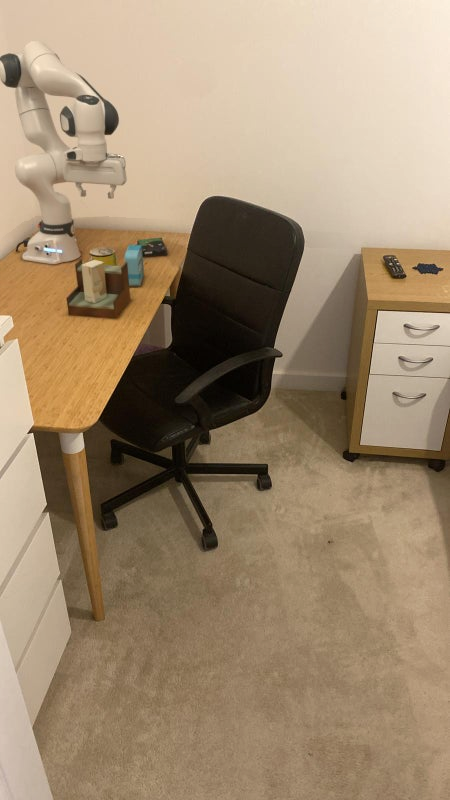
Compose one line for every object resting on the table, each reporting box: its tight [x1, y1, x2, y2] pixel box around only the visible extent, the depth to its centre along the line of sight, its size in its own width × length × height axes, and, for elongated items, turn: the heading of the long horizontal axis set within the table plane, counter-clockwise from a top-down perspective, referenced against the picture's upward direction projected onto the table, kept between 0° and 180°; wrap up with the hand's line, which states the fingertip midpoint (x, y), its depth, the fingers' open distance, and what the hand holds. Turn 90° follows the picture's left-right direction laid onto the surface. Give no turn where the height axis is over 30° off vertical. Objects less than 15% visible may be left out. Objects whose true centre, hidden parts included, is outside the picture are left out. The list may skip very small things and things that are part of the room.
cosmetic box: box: [82, 260, 107, 303], centre depth 207 cm, size 6×4×12 cm
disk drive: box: [136, 237, 168, 258], centre depth 261 cm, size 10×3×15 cm
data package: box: [124, 244, 145, 288], centre depth 231 cm, size 12×4×12 cm, turn 179°
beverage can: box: [88, 246, 118, 266], centre depth 229 cm, size 9×9×12 cm
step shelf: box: [66, 258, 131, 320], centre depth 211 cm, size 16×15×14 cm
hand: (97, 197), depth 211 cm, fingers open, 8 cm apart
